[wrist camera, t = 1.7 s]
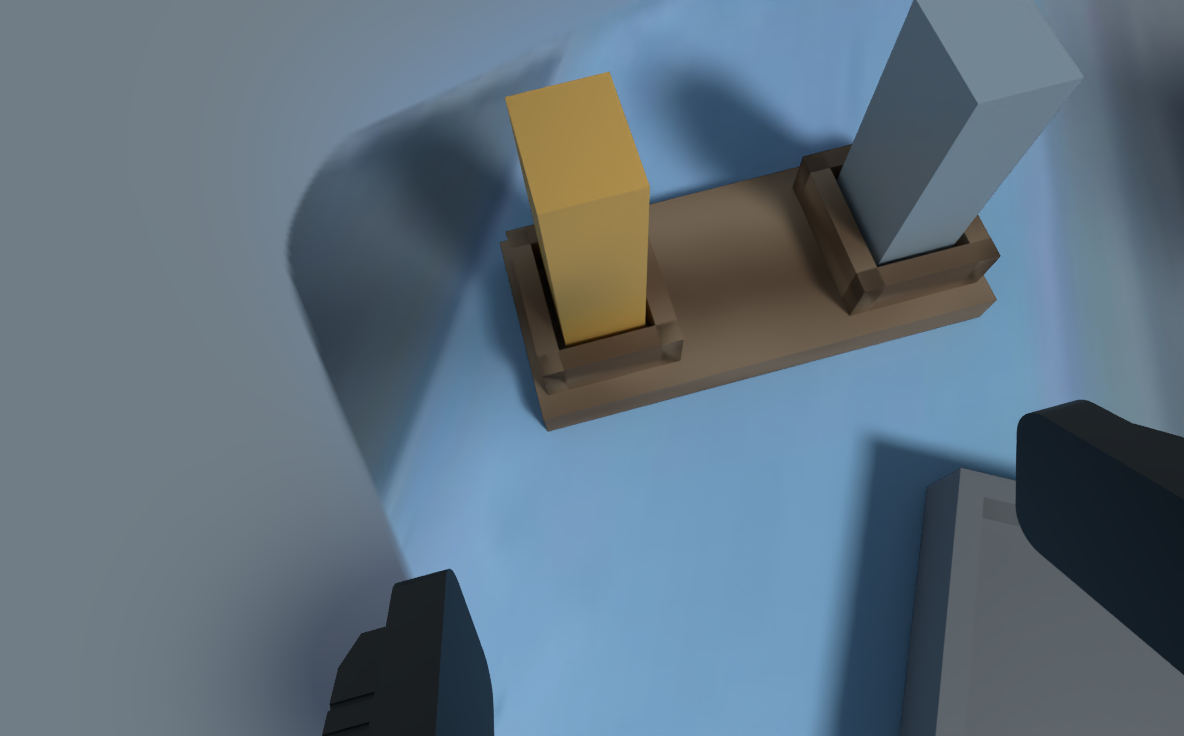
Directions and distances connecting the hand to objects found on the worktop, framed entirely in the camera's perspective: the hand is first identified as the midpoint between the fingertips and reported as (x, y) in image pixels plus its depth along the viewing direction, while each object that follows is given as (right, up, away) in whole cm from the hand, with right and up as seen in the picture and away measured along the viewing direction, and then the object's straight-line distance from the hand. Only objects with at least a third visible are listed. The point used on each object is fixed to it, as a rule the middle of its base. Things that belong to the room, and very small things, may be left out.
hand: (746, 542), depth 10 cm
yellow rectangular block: (-2, +5, +19) cm, 19 cm away
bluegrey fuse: (+10, +8, +19) cm, 23 cm away
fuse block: (+4, +6, +20) cm, 22 cm away
